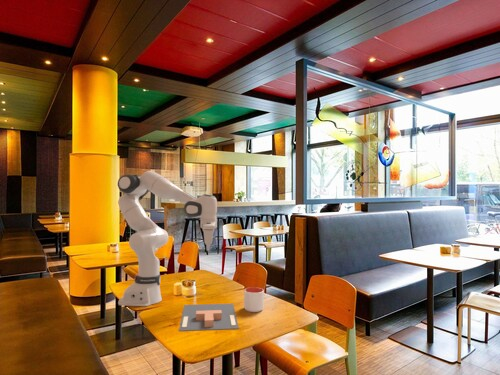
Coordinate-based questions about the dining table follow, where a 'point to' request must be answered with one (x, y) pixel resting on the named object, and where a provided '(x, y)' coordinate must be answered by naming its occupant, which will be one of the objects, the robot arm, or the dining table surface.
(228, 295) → the dining table surface
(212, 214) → the robot arm
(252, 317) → the dining table surface
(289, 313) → the dining table surface
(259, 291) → the cup
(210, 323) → the t block
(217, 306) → the mat
